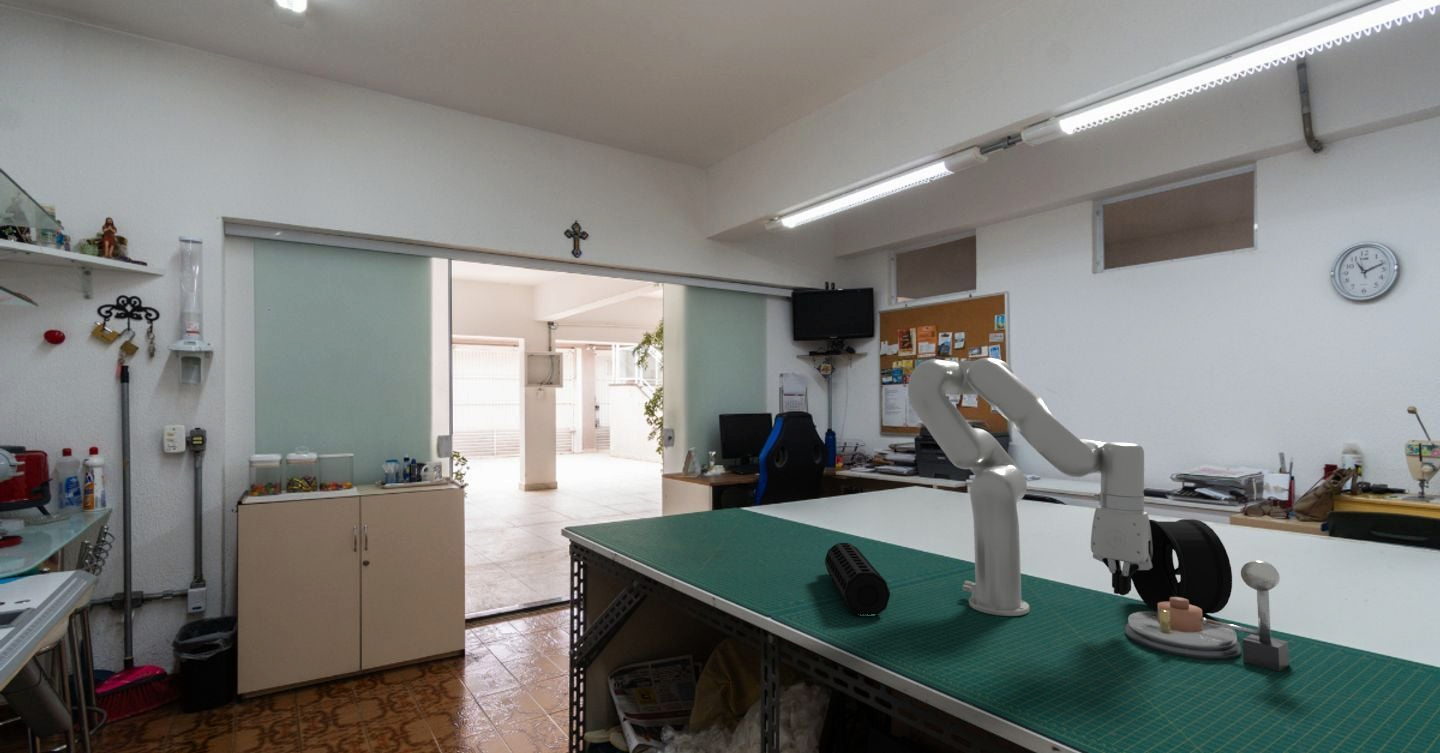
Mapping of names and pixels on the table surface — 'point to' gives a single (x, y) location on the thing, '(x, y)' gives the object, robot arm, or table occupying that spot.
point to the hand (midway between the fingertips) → (1121, 593)
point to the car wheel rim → (1186, 566)
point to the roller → (857, 580)
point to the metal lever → (1260, 620)
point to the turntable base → (1184, 651)
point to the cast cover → (1182, 614)
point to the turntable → (1181, 632)
